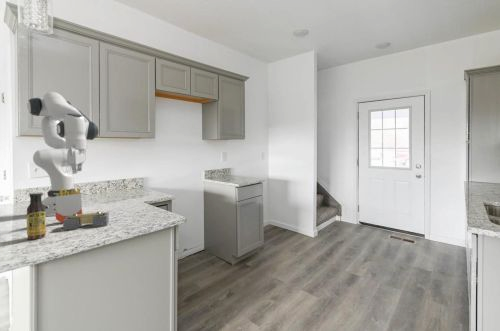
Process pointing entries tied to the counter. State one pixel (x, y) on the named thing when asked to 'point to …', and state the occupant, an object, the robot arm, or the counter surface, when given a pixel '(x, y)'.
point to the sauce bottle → (36, 217)
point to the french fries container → (67, 204)
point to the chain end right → (101, 220)
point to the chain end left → (71, 223)
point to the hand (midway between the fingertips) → (77, 172)
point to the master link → (86, 217)
